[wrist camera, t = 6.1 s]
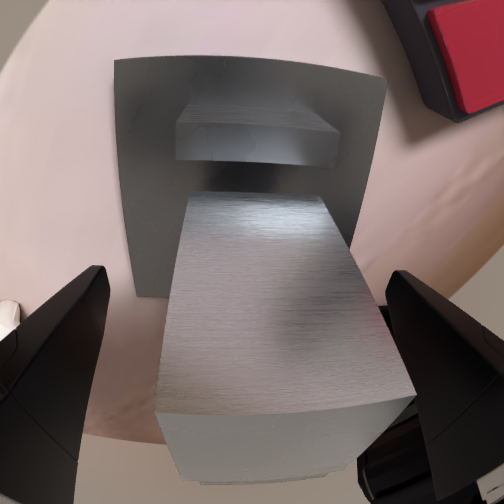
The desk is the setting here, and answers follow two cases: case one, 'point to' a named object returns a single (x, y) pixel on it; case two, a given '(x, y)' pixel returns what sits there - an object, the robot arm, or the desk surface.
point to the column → (271, 345)
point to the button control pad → (453, 52)
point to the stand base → (235, 142)
